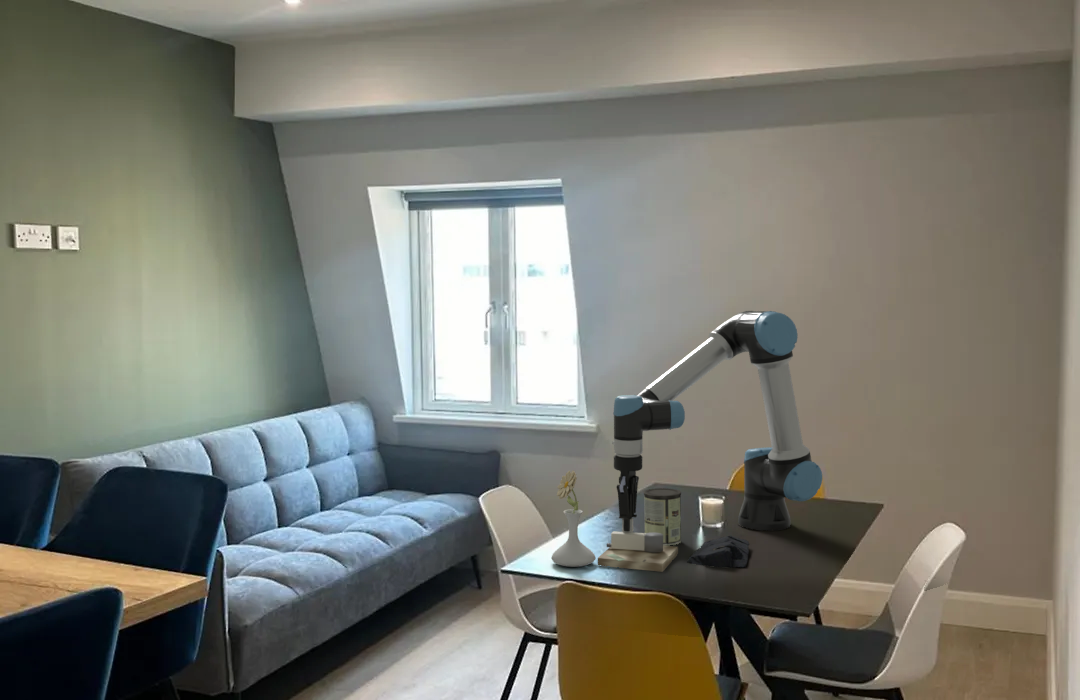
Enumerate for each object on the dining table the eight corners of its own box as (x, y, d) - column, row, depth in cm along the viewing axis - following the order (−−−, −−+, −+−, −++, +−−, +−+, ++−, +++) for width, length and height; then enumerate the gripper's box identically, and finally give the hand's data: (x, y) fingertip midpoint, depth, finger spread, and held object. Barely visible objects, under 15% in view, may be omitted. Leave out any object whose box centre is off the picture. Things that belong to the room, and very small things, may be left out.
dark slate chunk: (757, 549, 271) (757, 532, 270) (744, 571, 250) (744, 553, 250) (701, 545, 276) (701, 528, 276) (684, 566, 256) (684, 547, 255)
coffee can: (650, 535, 285) (650, 486, 284) (685, 539, 281) (685, 489, 280) (638, 544, 276) (638, 493, 275) (674, 548, 271) (674, 496, 270)
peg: (664, 548, 262) (664, 533, 262) (661, 553, 257) (661, 537, 257) (609, 544, 266) (608, 529, 266) (605, 549, 262) (604, 534, 261)
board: (677, 554, 265) (677, 546, 265) (661, 572, 248) (661, 564, 248) (616, 548, 271) (616, 541, 271) (596, 566, 254) (596, 558, 254)
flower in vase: (551, 558, 263) (550, 464, 261) (595, 558, 262) (594, 464, 261) (550, 572, 250) (549, 473, 248) (596, 572, 249) (595, 473, 248)
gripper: (621, 449, 269) (621, 534, 272) (607, 457, 258) (606, 547, 260) (648, 450, 267) (647, 537, 269) (635, 459, 255) (634, 550, 257)
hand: (627, 542), depth 264 cm, fingers closed
